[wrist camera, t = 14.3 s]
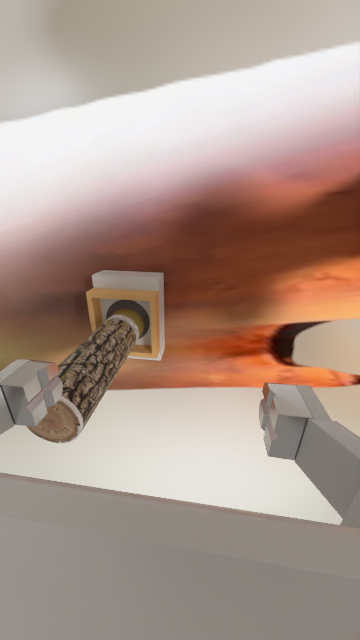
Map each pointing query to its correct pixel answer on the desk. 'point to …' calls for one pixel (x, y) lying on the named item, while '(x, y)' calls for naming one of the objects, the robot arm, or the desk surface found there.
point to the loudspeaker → (131, 306)
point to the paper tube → (89, 376)
